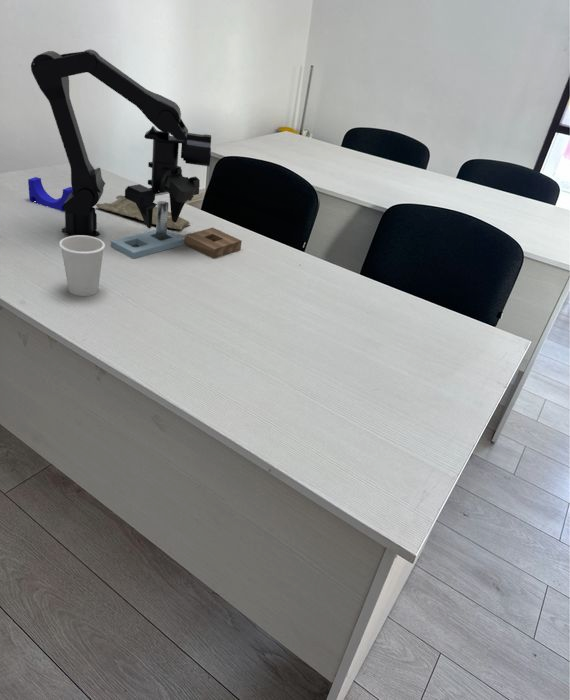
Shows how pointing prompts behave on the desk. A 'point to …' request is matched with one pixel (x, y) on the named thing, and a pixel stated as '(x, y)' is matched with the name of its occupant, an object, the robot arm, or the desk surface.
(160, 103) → the robot arm
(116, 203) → the stone tool
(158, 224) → the grey cylindrical peg
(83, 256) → the dixie cup
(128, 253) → the block
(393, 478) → the desk surface
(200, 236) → the socket block
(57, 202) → the blue semicircular cradle block
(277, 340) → the desk surface
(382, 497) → the desk surface
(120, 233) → the desk surface
